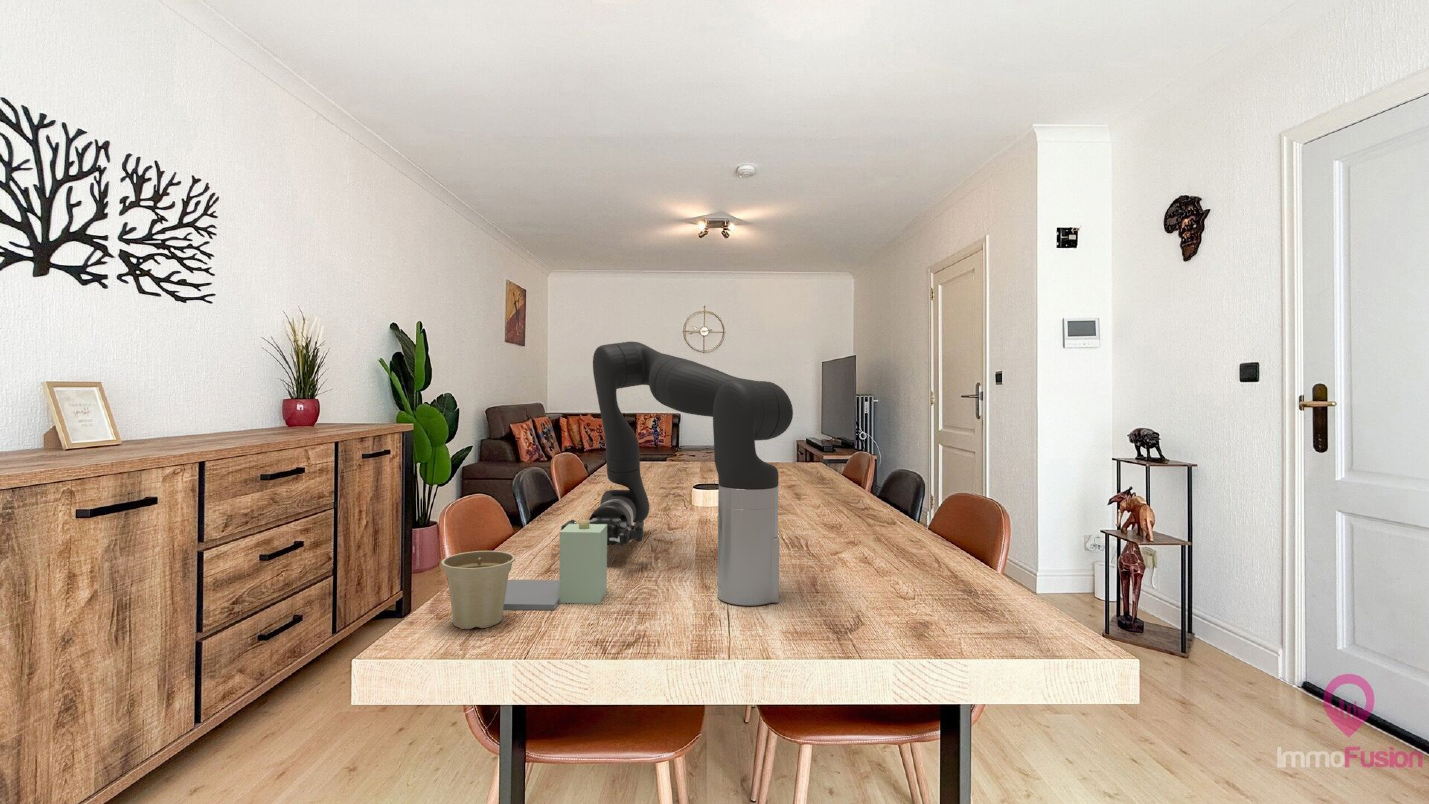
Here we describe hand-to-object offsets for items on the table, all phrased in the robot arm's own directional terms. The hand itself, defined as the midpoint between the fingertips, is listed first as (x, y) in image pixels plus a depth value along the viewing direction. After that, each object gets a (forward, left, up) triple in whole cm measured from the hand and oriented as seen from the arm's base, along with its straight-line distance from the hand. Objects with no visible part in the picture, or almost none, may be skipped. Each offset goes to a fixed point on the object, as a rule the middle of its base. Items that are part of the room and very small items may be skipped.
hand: (596, 540), depth 109 cm
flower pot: (+12, +21, -7) cm, 25 cm away
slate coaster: (+9, +10, -7) cm, 15 cm away
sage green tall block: (0, +10, -7) cm, 12 cm away
